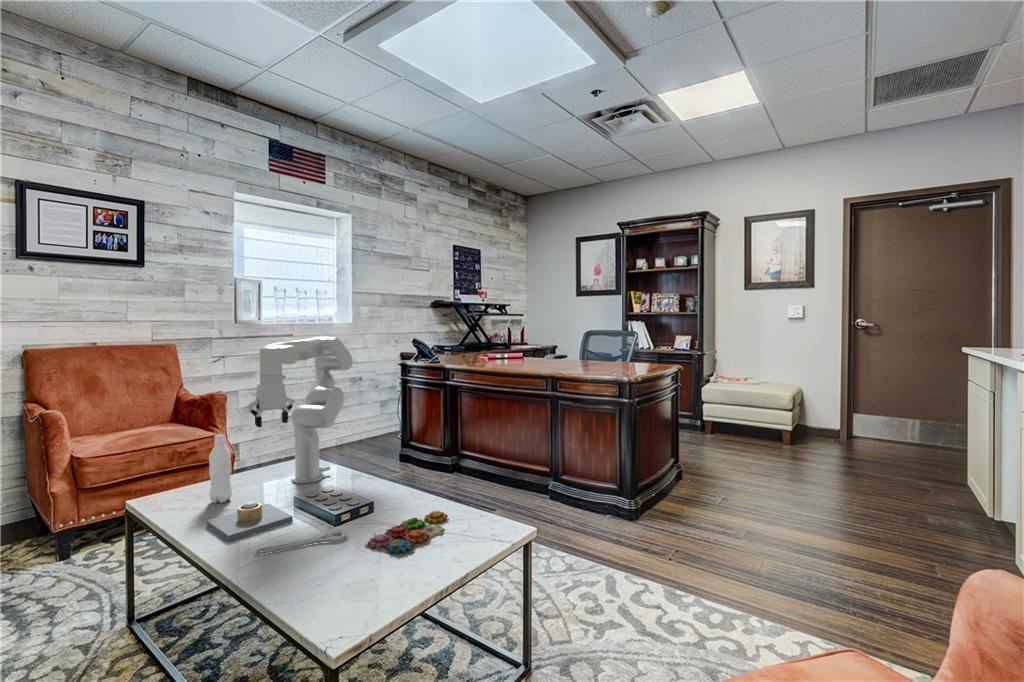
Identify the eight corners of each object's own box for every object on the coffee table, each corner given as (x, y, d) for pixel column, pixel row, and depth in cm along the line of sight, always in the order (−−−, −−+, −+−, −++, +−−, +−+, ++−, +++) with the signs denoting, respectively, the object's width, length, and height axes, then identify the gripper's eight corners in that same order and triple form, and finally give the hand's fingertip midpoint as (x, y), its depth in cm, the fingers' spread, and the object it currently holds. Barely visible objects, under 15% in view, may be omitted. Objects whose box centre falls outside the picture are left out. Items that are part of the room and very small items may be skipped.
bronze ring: (256, 512, 172) (255, 501, 172) (265, 517, 168) (264, 505, 168) (234, 518, 167) (234, 506, 167) (243, 524, 163) (243, 511, 163)
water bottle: (211, 499, 190) (209, 434, 189) (232, 496, 193) (231, 432, 192) (208, 506, 184) (206, 438, 182) (231, 503, 187) (229, 436, 185)
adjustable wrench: (255, 558, 145) (255, 552, 145) (257, 549, 151) (257, 543, 151) (346, 542, 155) (346, 536, 155) (344, 534, 161) (344, 528, 161)
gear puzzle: (426, 513, 178) (426, 502, 178) (464, 522, 171) (464, 510, 171) (362, 548, 151) (361, 535, 151) (403, 561, 143) (403, 547, 143)
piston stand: (268, 508, 181) (267, 489, 181) (292, 521, 169) (292, 501, 169) (206, 526, 166) (206, 505, 165) (228, 542, 154) (228, 519, 154)
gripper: (288, 376, 198) (289, 419, 199) (242, 380, 185) (243, 427, 186) (298, 378, 193) (299, 422, 194) (251, 382, 180) (252, 430, 181)
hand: (272, 424), depth 190 cm, fingers open, 9 cm apart
